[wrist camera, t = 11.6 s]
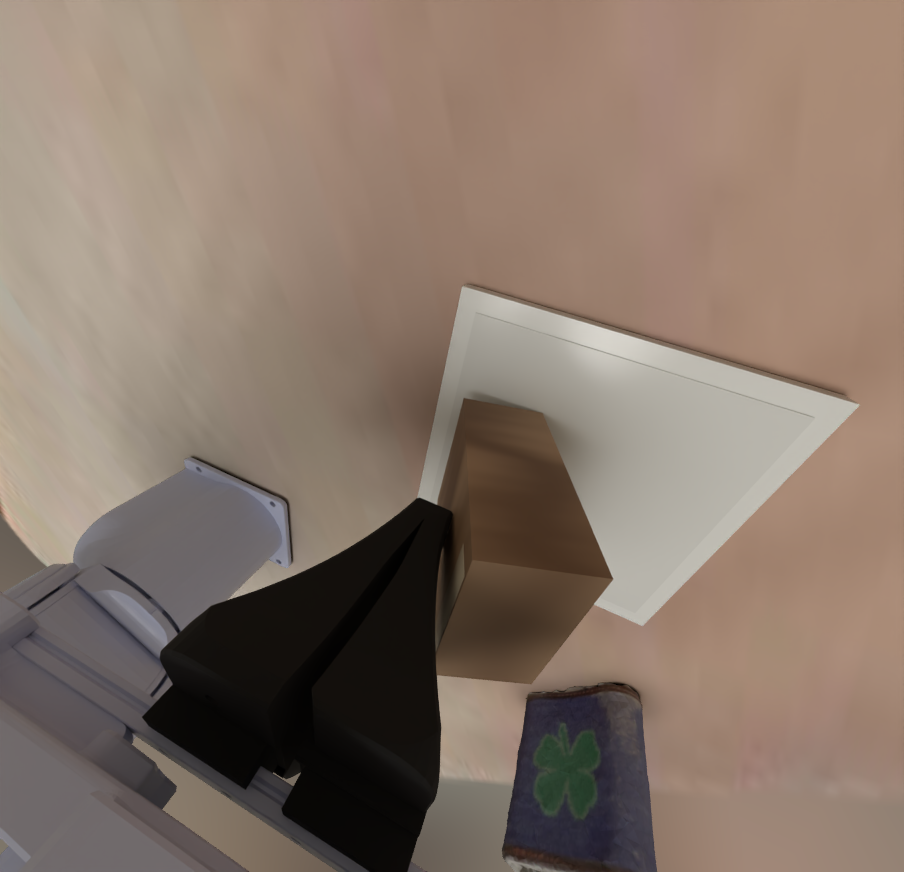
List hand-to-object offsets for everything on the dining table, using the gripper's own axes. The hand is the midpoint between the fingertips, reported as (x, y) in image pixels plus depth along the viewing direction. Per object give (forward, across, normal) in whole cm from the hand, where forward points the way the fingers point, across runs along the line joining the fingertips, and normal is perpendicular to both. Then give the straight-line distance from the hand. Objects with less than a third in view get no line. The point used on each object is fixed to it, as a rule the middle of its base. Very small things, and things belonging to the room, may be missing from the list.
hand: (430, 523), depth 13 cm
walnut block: (+5, -1, 0) cm, 5 cm away
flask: (+7, -13, +18) cm, 23 cm away
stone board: (+6, -5, 0) cm, 8 cm away
